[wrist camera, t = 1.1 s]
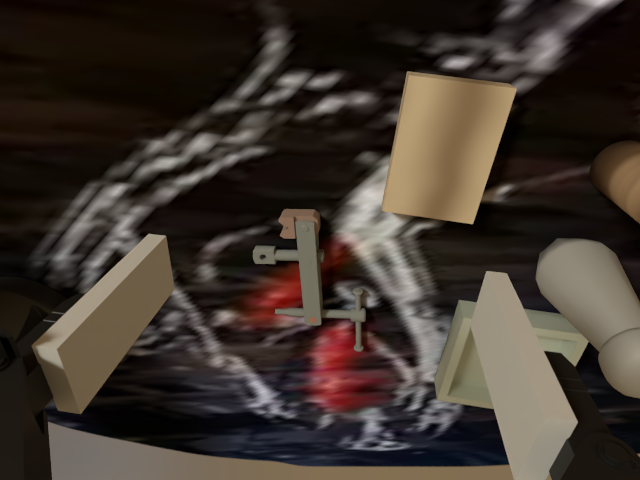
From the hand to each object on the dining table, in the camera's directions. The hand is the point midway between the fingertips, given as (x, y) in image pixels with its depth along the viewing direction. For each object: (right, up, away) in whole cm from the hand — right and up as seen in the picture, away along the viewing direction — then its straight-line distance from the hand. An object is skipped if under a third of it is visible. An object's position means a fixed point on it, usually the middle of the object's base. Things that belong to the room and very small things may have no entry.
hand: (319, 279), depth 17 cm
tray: (+18, -9, +22) cm, 30 cm away
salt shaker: (+20, 0, +17) cm, 27 cm away
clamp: (-1, -2, +22) cm, 22 cm away
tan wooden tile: (+9, +9, +14) cm, 19 cm away
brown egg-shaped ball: (+22, +7, +13) cm, 26 cm away
